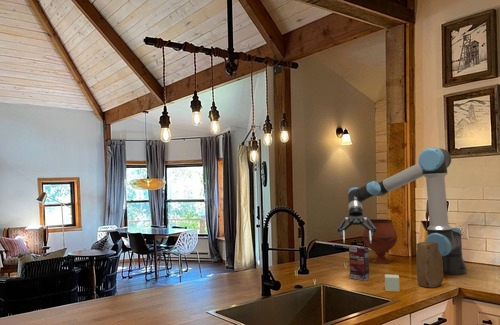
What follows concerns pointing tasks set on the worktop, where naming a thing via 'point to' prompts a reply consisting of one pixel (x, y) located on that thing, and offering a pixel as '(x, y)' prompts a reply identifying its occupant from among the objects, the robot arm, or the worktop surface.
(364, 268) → the supplement box
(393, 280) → the sage cube
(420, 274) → the block
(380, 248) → the goblet
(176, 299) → the worktop surface
